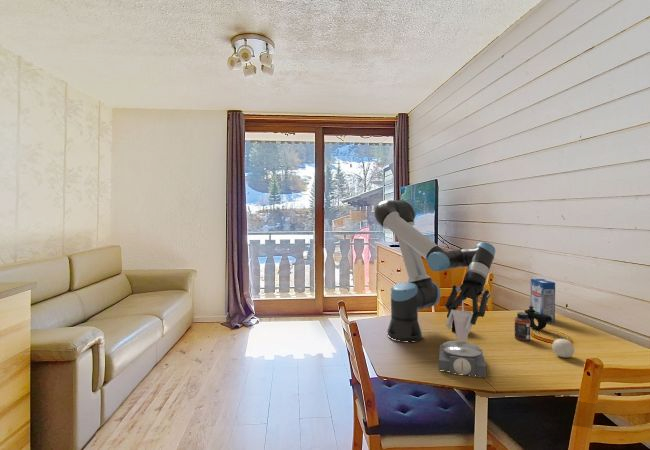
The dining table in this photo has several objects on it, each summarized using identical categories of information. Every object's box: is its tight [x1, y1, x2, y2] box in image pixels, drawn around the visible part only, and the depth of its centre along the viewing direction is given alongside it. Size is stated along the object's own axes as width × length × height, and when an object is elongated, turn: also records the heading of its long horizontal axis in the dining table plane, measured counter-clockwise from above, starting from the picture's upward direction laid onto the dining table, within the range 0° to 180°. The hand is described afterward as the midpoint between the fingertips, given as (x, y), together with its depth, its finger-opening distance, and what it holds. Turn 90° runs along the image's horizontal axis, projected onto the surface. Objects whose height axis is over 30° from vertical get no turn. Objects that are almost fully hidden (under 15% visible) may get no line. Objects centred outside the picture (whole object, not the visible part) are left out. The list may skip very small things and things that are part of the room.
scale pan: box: [442, 340, 482, 358], centre depth 121 cm, size 13×13×1 cm
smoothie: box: [452, 300, 472, 341], centre depth 120 cm, size 6×6×14 cm
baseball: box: [551, 338, 575, 359], centre depth 127 cm, size 7×7×7 cm
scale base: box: [438, 343, 487, 378], centre depth 121 cm, size 15×16×6 cm
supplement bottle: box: [514, 311, 531, 342], centre depth 145 cm, size 6×6×11 cm
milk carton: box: [530, 278, 556, 323], centre depth 170 cm, size 10×6×20 cm, turn 179°
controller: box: [524, 305, 552, 330], centre depth 156 cm, size 4×12×10 cm, turn 18°
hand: (457, 328), depth 118 cm, fingers closed on smoothie, 6 cm apart
